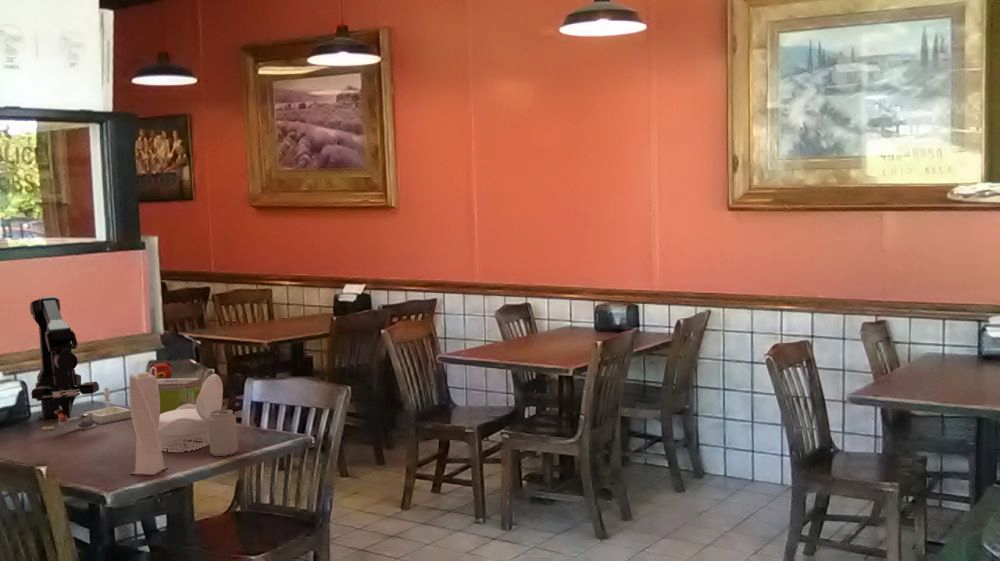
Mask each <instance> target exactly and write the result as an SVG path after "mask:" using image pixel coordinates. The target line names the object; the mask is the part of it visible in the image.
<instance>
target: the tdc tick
mask: <svg viewBox="0 0 1000 561" xmlns="http://www.w3.org/2000/svg"><path fill="white" fill-rule="evenodd" d="M41 429H42V431H50V430H51V429H53V430H54V425H43V426H42V428H41Z"/></svg>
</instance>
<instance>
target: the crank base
mask: <svg viewBox="0 0 1000 561" xmlns="http://www.w3.org/2000/svg"><path fill="white" fill-rule="evenodd" d="M97 426H98V423H95V422H93V425H90V426H78V425H75V426H74V429H75V430H89V429H93V428H94V429H95V428H96V427H97Z"/></svg>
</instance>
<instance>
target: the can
mask: <svg viewBox="0 0 1000 561" xmlns="http://www.w3.org/2000/svg"><path fill="white" fill-rule="evenodd" d="M233 412H234V411H233V410H232V409H221V410H217V411H213V412H211V413H210V417H209V418H208V429H209V431H208V432H209V453H210V454H211V455H213V456H214V455H216V456H215V457H217V456H224V457H228V456H227V455H230V456H233V455H235V454H236V452H237V451H238V450H239V446H238V445H239V444H238V443H239V442H238V430H237V429H238V428H237V416H236V415H235V414H234V413H233ZM234 453H235V454H234ZM232 454H233V455H232Z"/></svg>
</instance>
